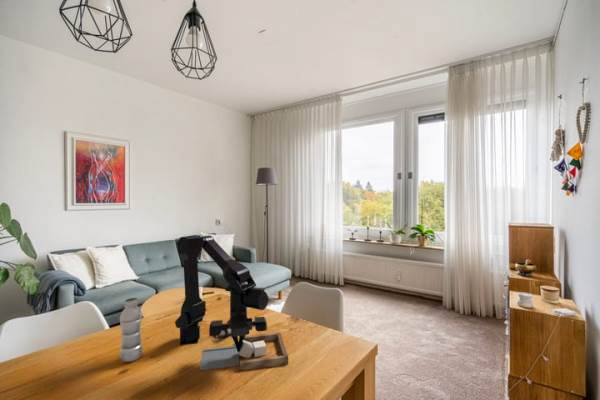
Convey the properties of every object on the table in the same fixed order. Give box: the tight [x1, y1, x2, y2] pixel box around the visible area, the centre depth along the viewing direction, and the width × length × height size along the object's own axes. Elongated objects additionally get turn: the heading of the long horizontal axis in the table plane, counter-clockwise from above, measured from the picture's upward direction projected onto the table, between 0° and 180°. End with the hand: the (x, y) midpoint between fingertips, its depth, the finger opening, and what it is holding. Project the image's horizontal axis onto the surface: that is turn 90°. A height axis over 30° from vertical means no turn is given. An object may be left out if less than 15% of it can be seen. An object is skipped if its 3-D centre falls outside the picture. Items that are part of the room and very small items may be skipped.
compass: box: [212, 318, 230, 340], centre depth 111 cm, size 8×8×7 cm
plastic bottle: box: [119, 297, 144, 363], centre depth 95 cm, size 6×7×20 cm
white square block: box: [252, 340, 267, 358], centre depth 99 cm, size 4×4×4 cm
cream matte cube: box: [238, 340, 254, 359], centre depth 98 cm, size 4×4×4 cm
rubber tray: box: [199, 345, 240, 371], centre depth 96 cm, size 12×12×1 cm
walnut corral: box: [239, 332, 289, 371], centre depth 99 cm, size 15×17×2 cm
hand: (238, 351), depth 97 cm, fingers closed, pressing on cream matte cube
